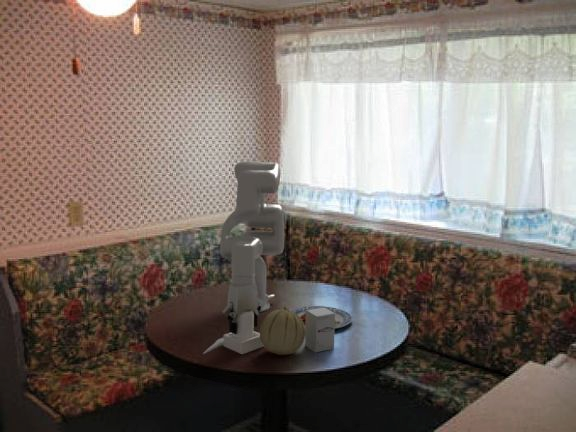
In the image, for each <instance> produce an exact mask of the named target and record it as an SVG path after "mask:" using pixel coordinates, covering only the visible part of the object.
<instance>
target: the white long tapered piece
mask: <svg viewBox="0 0 576 432" xmlns="http://www.w3.org/2000/svg"><path fill="white" fill-rule="evenodd" d="M221 346H224V338H223V337H220V338H218V339H217V340H216V341H215V342H214V343H213V344H211V345H210V346H209V347H208V348H207V349H206V350H204V352H203V353H202V355H206V354H207V353H208V352H211V351H213V350H215V349H217V348H218V347H221Z"/></svg>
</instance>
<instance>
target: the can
mask: <svg viewBox="0 0 576 432" xmlns="http://www.w3.org/2000/svg"><path fill="white" fill-rule="evenodd" d="M235 322H237V334H234V338H236V339H239V340H241V341H244V340H247V339H250V338H253V331H254V328H255V327H254V312H253V310H251V311H245V312H244V314H241V315H238V317H237V319H236V321H235Z"/></svg>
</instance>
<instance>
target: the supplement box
mask: <svg viewBox="0 0 576 432" xmlns="http://www.w3.org/2000/svg"><path fill="white" fill-rule="evenodd" d="M334 327H335V313H333V312H332V311H330V310H328V309H326V308H318V309H311V310H306V323H305V338H304V345H305V346H306V348H308V349H309V350H311V351H312V352H314V353H315V354H316V353H320V352H324V351H329V350H334V349H335V329H334Z"/></svg>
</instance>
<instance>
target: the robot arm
mask: <svg viewBox="0 0 576 432" xmlns="http://www.w3.org/2000/svg"><path fill="white" fill-rule="evenodd" d="M281 173H282V172H281V167H280V165H279V163H277V162H274V161H242V162H237V163H236V164H235V166H234V176H235V179H236V181H237V187H236V201H235V202H236V203H235V209H234V210H233V211H232V212H231V213H230V214H229V215H228V216H227V218H226V219H225V220H224V222H223V225H222V228H221V233H220V242H219V243H220V247H219V248H220V249H219V250H220V255H221V257H223V258H225V259H228V260H231V283H230V284H229V287H228V292H227V306H226V307H224V309H223V310H222V314H223V316H224V317H225V319H226V320H227V321H228V323H229V324H228V326H229V327H228V328H229V333H233V334H237V322H235V321H236V319H237V317H238V315H241V314H244V312H245V311H251V310H253V312H254V328H257V327H258V316H259V315H260V313H261V312H264V311H267V310H269V309H270V308H271V304H270V302H269V301H270V300H274V299H275V294H273V293H272V294H269V295H268V294H267V264H266V262H265V260H264V259H263V257H262V255H263V256H264V255H265V256H266V255H267V256H276V255H281V254H282V253H283V252H284V249H285V214H284V213H285V212H284V210H283V209H284V208H283V207H282V205H280V204H277V203H266V201H265V199H266V198H265V197H266V196H265V195H266V194H270V195H271V194H276V193H277V191H278V190H279V185H280V180H281ZM241 223H244V225H245V226H246V227H247V228H252V229H253V228H255V229H271V230H247V231H244V232H242V233H241V234H240V236H230V234H231V231H232V230H233V229H234V228H235V227H236V226H238V225H239V224H241Z"/></svg>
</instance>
